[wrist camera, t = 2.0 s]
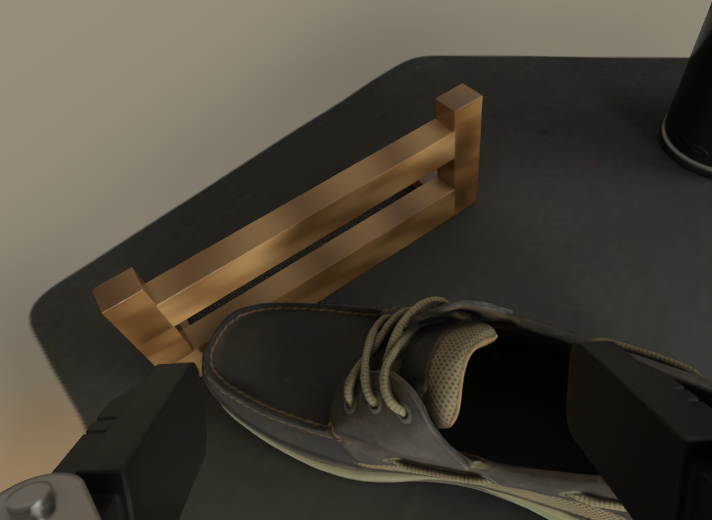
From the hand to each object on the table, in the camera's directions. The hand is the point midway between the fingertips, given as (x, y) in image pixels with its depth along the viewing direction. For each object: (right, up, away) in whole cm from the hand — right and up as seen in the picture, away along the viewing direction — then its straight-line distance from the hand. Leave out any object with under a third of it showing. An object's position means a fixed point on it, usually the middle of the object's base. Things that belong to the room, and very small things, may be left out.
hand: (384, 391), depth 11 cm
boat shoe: (+5, -7, +20) cm, 22 cm away
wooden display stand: (-4, +3, +29) cm, 30 cm away
